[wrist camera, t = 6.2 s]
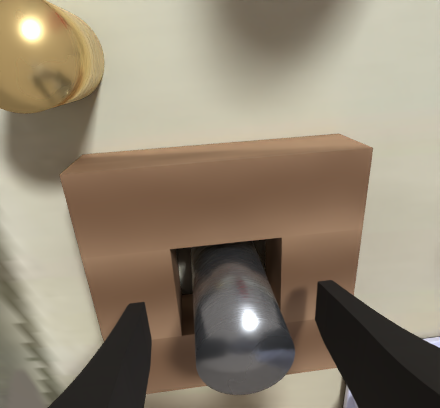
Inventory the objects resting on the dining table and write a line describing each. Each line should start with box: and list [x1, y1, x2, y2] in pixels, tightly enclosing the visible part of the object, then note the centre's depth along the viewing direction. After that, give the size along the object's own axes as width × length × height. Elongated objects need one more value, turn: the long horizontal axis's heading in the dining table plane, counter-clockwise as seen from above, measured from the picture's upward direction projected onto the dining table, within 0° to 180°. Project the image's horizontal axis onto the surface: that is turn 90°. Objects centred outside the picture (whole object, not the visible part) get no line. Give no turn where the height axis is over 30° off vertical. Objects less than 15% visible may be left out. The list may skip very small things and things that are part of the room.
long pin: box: [191, 241, 295, 395], centre depth 14 cm, size 3×3×7 cm
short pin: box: [0, 0, 104, 113], centre depth 11 cm, size 3×3×4 cm
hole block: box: [60, 134, 373, 394], centre depth 16 cm, size 12×12×3 cm
